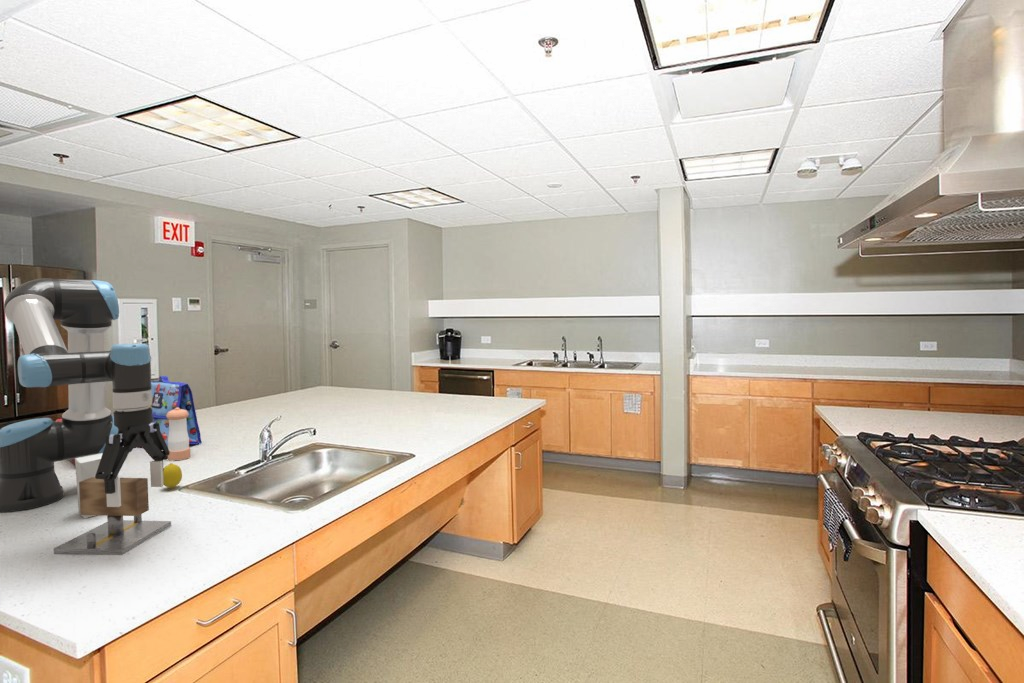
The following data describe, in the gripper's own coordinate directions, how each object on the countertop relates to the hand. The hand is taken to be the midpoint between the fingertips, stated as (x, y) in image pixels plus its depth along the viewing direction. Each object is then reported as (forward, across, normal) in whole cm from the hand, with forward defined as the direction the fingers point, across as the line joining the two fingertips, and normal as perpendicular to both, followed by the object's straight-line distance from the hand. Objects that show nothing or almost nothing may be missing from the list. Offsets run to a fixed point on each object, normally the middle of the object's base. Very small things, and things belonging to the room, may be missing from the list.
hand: (136, 496), depth 124 cm
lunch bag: (+10, +85, +54) cm, 101 cm away
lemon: (+11, +35, +17) cm, 40 cm away
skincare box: (+11, +16, +24) cm, 31 cm away
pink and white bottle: (+10, +67, +37) cm, 77 cm away
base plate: (+11, 0, +6) cm, 12 cm away
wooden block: (+4, 0, +6) cm, 7 cm away
